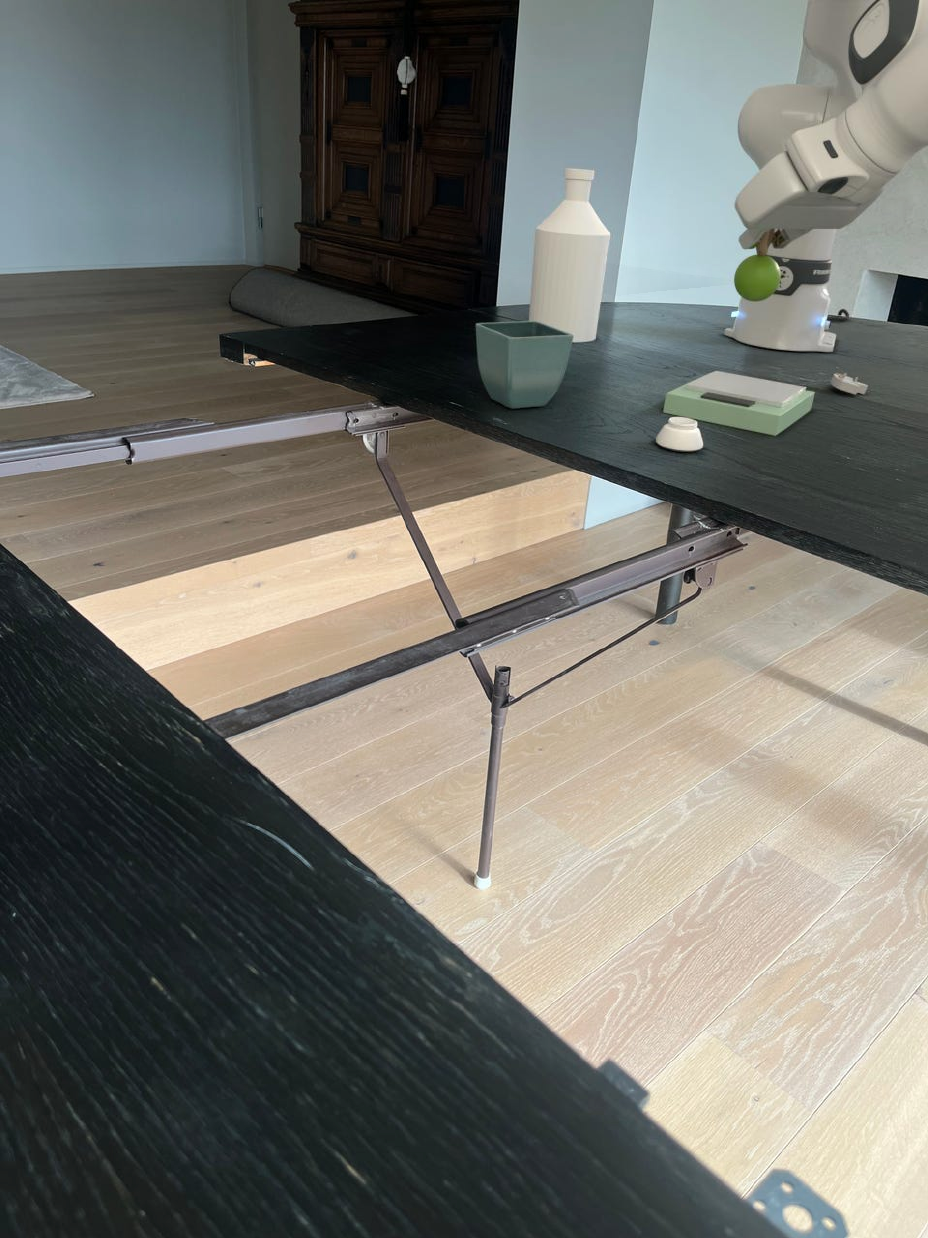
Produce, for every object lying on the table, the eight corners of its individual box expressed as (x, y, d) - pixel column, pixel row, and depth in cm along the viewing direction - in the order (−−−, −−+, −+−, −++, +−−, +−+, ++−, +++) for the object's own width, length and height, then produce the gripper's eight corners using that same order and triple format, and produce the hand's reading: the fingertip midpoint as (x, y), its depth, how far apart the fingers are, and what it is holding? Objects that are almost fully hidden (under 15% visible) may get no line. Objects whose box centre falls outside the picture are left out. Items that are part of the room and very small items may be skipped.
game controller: (873, 397, 133) (878, 378, 132) (796, 396, 131) (801, 376, 130) (852, 387, 138) (856, 368, 136) (778, 385, 136) (782, 367, 134)
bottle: (528, 325, 165) (544, 165, 153) (597, 332, 164) (618, 171, 152) (523, 338, 154) (538, 167, 143) (596, 345, 153) (618, 173, 142)
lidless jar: (646, 443, 105) (679, 456, 101) (650, 417, 104) (684, 429, 100) (677, 438, 108) (711, 450, 104) (681, 412, 106) (716, 424, 103)
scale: (707, 390, 130) (711, 368, 129) (810, 410, 124) (816, 387, 122) (663, 412, 118) (667, 388, 116) (775, 435, 111) (781, 410, 110)
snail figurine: (726, 302, 116) (745, 194, 110) (733, 295, 121) (751, 192, 116) (772, 307, 114) (794, 197, 108) (777, 300, 119) (798, 195, 114)
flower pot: (503, 415, 111) (510, 336, 107) (468, 396, 118) (473, 322, 114) (567, 410, 115) (575, 334, 111) (529, 392, 122) (536, 320, 118)
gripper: (889, 140, 110) (798, 222, 122) (784, 129, 99) (694, 221, 110) (915, 186, 109) (820, 264, 120) (812, 180, 98) (718, 268, 109)
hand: (759, 244), depth 115 cm, fingers closed on snail figurine, 5 cm apart
